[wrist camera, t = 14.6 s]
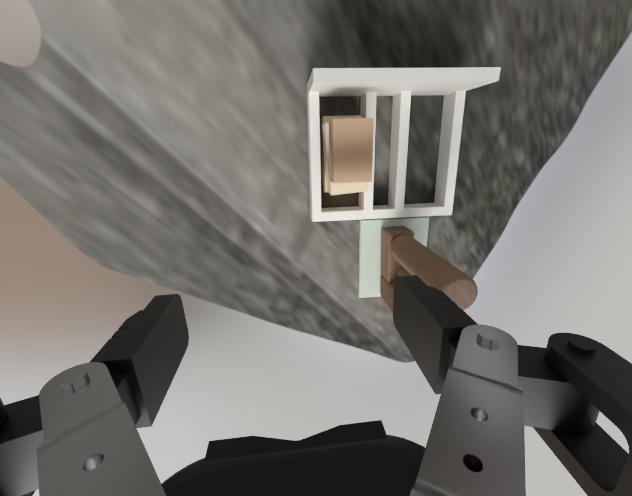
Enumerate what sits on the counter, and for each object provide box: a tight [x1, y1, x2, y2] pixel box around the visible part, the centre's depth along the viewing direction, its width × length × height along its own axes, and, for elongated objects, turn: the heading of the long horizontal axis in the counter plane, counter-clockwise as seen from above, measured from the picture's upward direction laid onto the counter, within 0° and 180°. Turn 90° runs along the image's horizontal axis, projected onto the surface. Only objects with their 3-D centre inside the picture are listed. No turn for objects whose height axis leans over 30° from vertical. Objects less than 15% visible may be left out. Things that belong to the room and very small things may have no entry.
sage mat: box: [358, 217, 429, 298], centre depth 46 cm, size 12×10×1 cm
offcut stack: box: [321, 115, 374, 195], centre depth 37 cm, size 9×5×9 cm, turn 2°
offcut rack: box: [306, 67, 501, 222], centre depth 37 cm, size 16×19×9 cm
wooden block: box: [380, 226, 477, 313], centre depth 37 cm, size 4×11×18 cm, turn 3°
